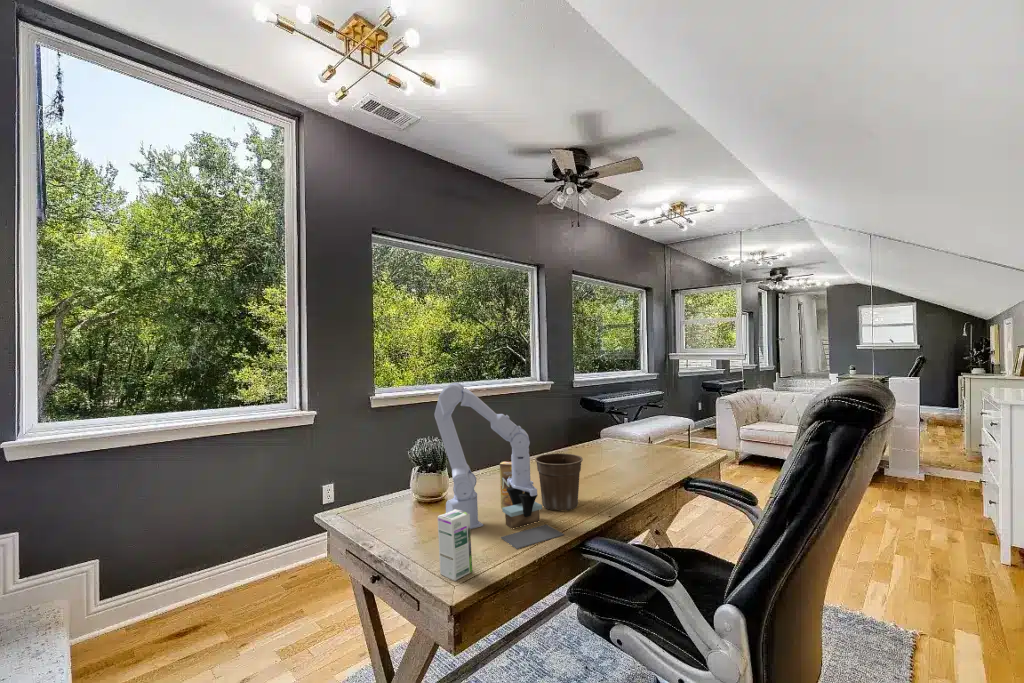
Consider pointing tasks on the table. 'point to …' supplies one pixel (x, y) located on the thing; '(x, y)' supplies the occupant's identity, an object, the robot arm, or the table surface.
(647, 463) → the table surface
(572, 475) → the plant pot
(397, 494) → the table surface
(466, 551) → the syrup box
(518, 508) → the lid
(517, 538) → the mat
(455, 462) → the robot arm
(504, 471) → the candy box
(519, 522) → the crate
